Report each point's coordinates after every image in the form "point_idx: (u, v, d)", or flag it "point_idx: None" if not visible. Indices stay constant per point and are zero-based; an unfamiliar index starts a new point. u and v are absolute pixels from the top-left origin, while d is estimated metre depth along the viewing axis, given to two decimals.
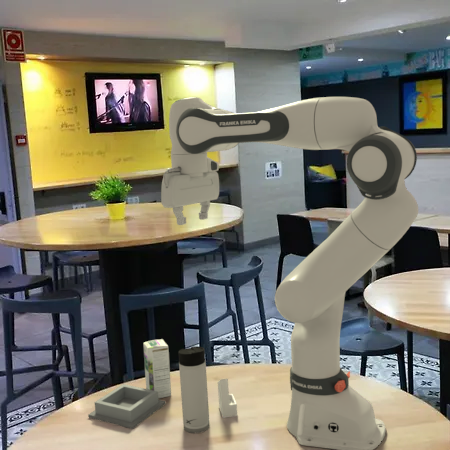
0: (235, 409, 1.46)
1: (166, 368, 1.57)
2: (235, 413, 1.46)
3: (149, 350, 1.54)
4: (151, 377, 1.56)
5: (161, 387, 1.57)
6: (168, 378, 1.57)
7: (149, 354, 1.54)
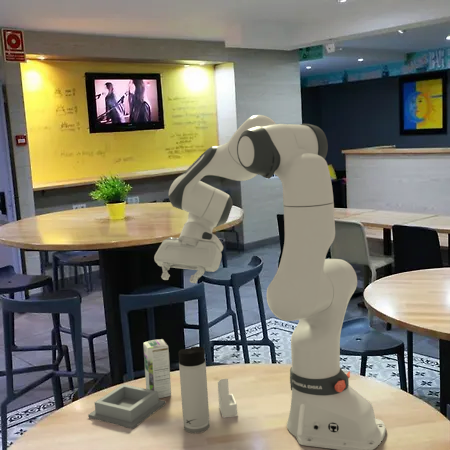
0: (235, 409, 1.46)
1: (166, 368, 1.57)
2: (235, 413, 1.46)
3: (149, 350, 1.54)
4: (151, 377, 1.56)
5: (161, 387, 1.57)
6: (168, 378, 1.57)
7: (149, 354, 1.54)
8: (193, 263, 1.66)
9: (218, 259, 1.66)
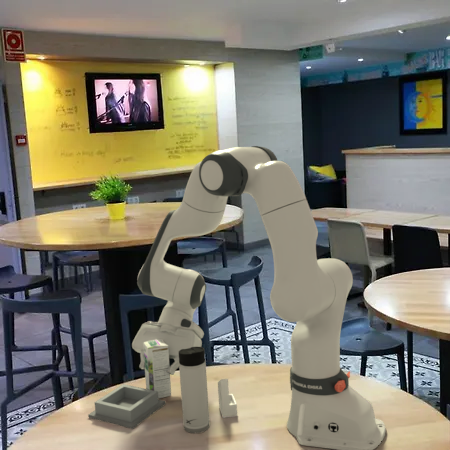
0: (235, 409, 1.46)
1: (166, 368, 1.57)
2: (235, 413, 1.46)
3: (149, 350, 1.54)
4: (151, 377, 1.56)
5: (161, 387, 1.57)
6: (168, 378, 1.57)
7: (149, 354, 1.54)
8: (171, 353, 1.58)
9: None
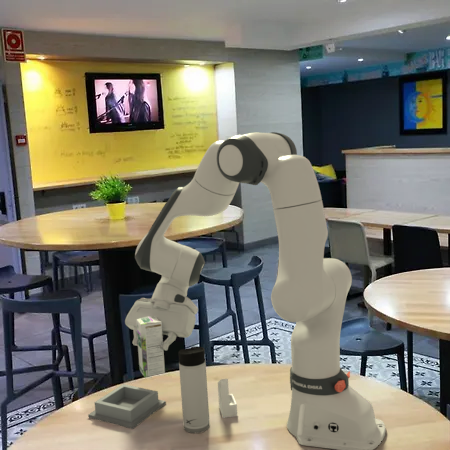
0: (235, 409, 1.46)
1: (159, 344, 1.54)
2: (235, 413, 1.46)
3: (142, 326, 1.52)
4: (144, 354, 1.53)
5: (155, 364, 1.54)
6: (161, 355, 1.55)
7: (142, 330, 1.52)
8: (164, 328, 1.55)
9: (192, 324, 1.55)
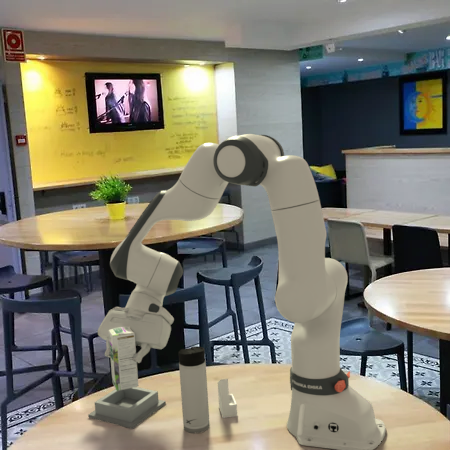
0: (235, 409, 1.45)
1: (132, 356, 1.47)
2: (235, 413, 1.46)
3: (114, 337, 1.45)
4: (116, 366, 1.46)
5: (128, 377, 1.47)
6: (135, 367, 1.48)
7: (114, 342, 1.45)
8: (138, 340, 1.48)
9: (166, 334, 1.48)
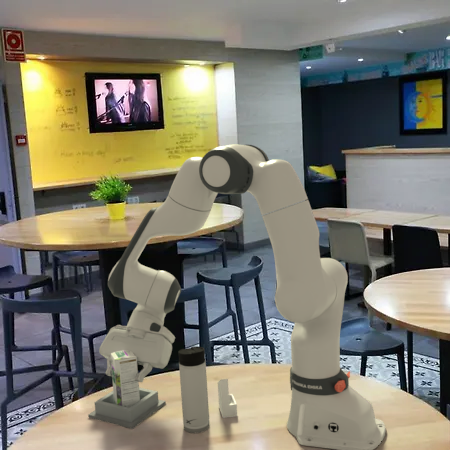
0: (235, 409, 1.45)
1: (134, 380, 1.48)
2: (235, 413, 1.46)
3: (116, 362, 1.46)
4: (118, 390, 1.47)
5: (130, 400, 1.48)
6: (137, 391, 1.49)
7: (116, 366, 1.46)
8: (139, 359, 1.49)
9: (167, 354, 1.49)
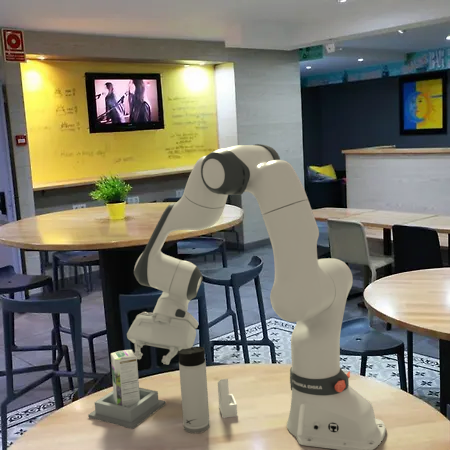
0: (235, 409, 1.45)
1: (134, 380, 1.48)
2: (235, 413, 1.46)
3: (116, 362, 1.46)
4: (119, 390, 1.47)
5: (130, 400, 1.48)
6: (137, 391, 1.49)
7: (116, 366, 1.46)
8: (166, 343, 1.59)
9: (192, 338, 1.59)
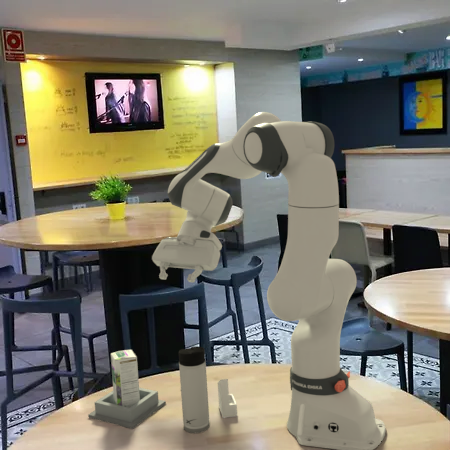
0: (235, 409, 1.45)
1: (134, 380, 1.48)
2: (235, 413, 1.46)
3: (116, 362, 1.46)
4: (119, 390, 1.47)
5: (130, 400, 1.48)
6: (137, 391, 1.49)
7: (116, 366, 1.46)
8: (191, 262, 1.63)
9: (217, 258, 1.63)
